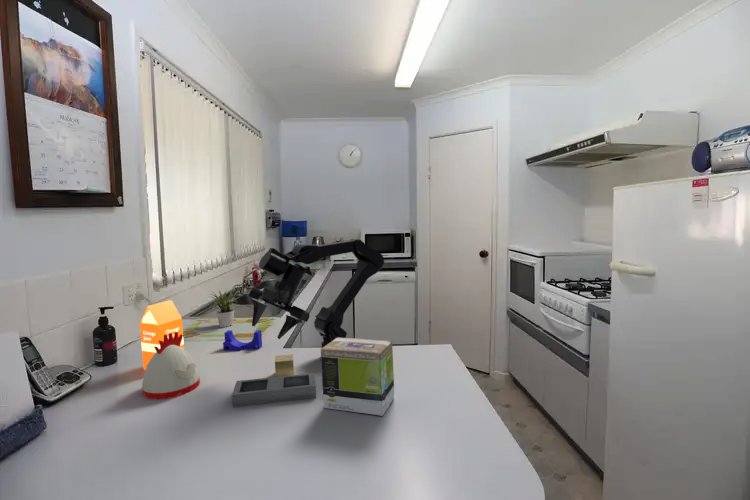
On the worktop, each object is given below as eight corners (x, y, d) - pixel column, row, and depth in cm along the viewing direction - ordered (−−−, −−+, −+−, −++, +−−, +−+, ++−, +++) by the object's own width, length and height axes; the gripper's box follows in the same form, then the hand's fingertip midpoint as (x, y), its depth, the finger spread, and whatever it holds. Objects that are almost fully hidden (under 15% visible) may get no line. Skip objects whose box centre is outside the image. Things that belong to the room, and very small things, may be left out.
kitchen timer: (210, 381, 113) (207, 329, 112) (167, 403, 101) (162, 344, 99) (176, 374, 119) (172, 324, 118) (130, 394, 107) (126, 338, 105)
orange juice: (143, 369, 123) (137, 305, 122) (167, 359, 132) (162, 299, 130) (161, 372, 120) (156, 306, 119) (185, 362, 129) (181, 300, 127)
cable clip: (223, 351, 139) (222, 334, 138) (229, 346, 143) (228, 330, 143) (257, 351, 138) (256, 334, 137) (262, 346, 142) (261, 330, 142)
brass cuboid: (293, 370, 119) (293, 354, 119) (293, 377, 115) (293, 360, 114) (276, 372, 119) (275, 355, 118) (275, 379, 114) (274, 361, 113)
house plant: (197, 330, 165) (194, 290, 164) (216, 321, 179) (213, 284, 177) (230, 330, 163) (227, 290, 161) (246, 321, 177) (244, 284, 175)
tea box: (395, 398, 100) (393, 339, 98) (382, 417, 90) (380, 353, 89) (339, 391, 105) (337, 335, 103) (321, 409, 95) (319, 347, 94)
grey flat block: (314, 383, 110) (314, 372, 109) (316, 397, 101) (315, 385, 101) (237, 392, 106) (236, 380, 105) (232, 407, 97) (231, 395, 97)
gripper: (251, 264, 116) (225, 315, 112) (305, 287, 110) (279, 341, 106) (269, 275, 126) (245, 321, 123) (319, 296, 120) (296, 346, 116)
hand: (265, 332), depth 117 cm, fingers open, 9 cm apart
